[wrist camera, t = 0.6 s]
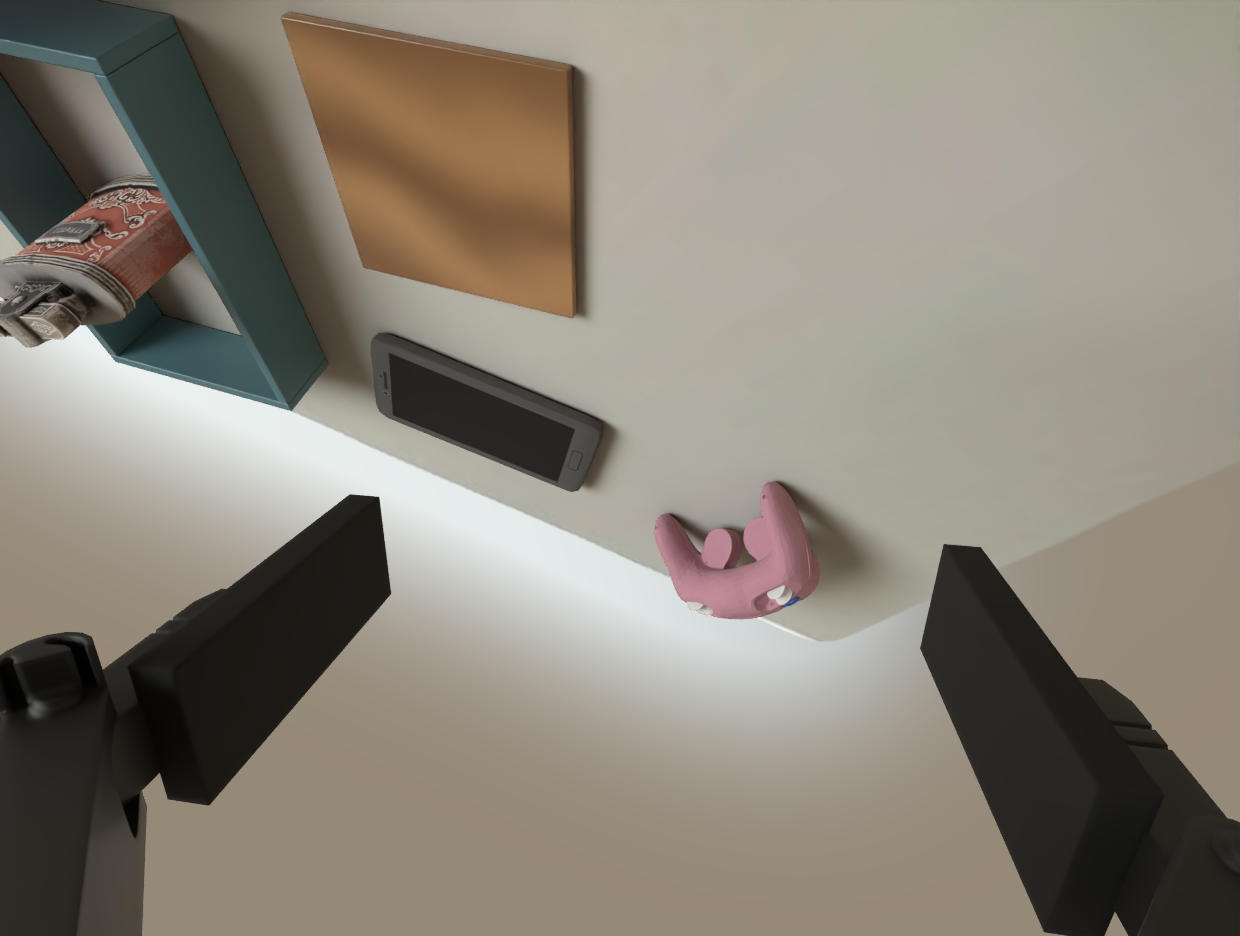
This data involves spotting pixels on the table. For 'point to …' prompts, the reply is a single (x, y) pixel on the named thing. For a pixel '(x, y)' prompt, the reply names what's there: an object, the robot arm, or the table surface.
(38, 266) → the lighter
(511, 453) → the cell phone
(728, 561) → the video game controller
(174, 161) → the rectangular frame
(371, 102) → the mat
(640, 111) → the table surface
